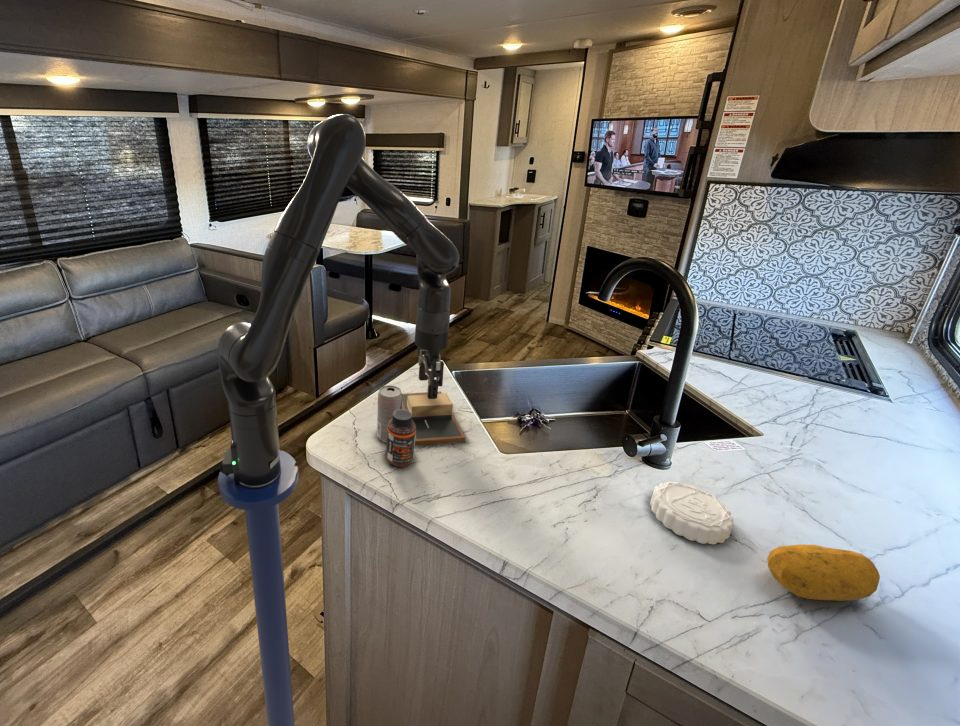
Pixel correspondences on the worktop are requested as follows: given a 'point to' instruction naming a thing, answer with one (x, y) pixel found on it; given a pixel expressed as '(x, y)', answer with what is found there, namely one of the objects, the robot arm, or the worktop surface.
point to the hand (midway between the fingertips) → (427, 388)
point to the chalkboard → (435, 428)
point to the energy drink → (387, 408)
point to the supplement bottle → (400, 438)
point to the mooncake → (691, 512)
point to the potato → (823, 572)
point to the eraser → (429, 407)
